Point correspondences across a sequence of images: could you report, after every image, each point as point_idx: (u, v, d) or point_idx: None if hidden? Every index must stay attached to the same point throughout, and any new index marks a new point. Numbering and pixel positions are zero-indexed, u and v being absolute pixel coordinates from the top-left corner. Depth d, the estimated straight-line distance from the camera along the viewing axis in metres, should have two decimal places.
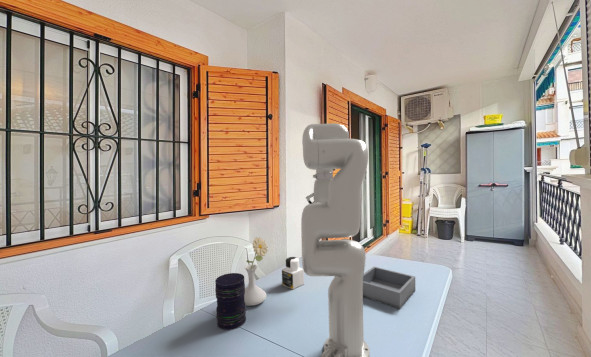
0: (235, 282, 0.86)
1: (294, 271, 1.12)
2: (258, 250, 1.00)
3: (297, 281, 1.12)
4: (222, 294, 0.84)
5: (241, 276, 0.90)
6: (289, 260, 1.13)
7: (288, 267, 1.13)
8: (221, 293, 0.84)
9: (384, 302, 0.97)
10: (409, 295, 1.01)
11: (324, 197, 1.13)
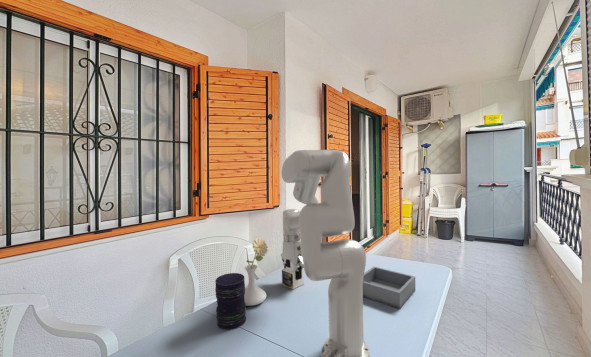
0: (235, 282, 0.86)
1: (294, 271, 1.12)
2: (258, 250, 1.00)
3: (297, 281, 1.12)
4: (222, 294, 0.84)
5: (241, 276, 0.90)
6: (289, 260, 1.13)
7: (288, 267, 1.13)
8: (221, 293, 0.84)
9: (384, 302, 0.97)
10: (409, 295, 1.01)
11: None
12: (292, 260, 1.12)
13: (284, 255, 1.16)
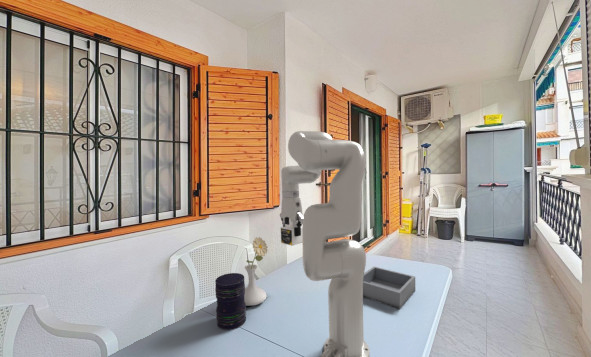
0: (235, 282, 0.86)
1: (293, 228, 1.11)
2: (258, 250, 1.00)
3: (296, 238, 1.11)
4: (222, 294, 0.84)
5: (241, 276, 0.90)
6: None
7: (287, 224, 1.12)
8: (221, 293, 0.84)
9: (384, 302, 0.97)
10: (409, 295, 1.01)
11: None
12: (291, 216, 1.11)
13: (283, 213, 1.15)
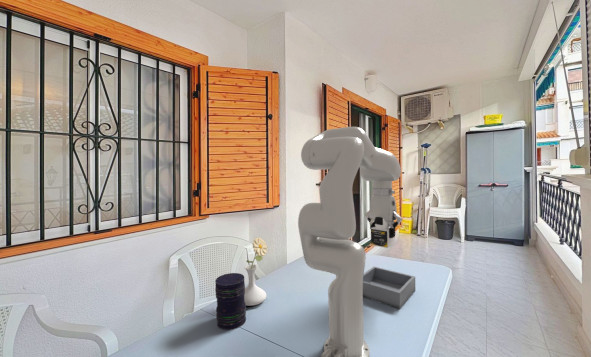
0: (235, 282, 0.86)
1: (387, 228, 1.02)
2: (258, 250, 1.00)
3: (390, 240, 1.02)
4: (222, 294, 0.84)
5: (241, 276, 0.90)
6: (381, 217, 1.03)
7: (380, 224, 1.03)
8: (221, 293, 0.84)
9: (384, 302, 0.97)
10: (409, 295, 1.01)
11: None
12: (386, 216, 1.01)
13: (373, 213, 1.06)
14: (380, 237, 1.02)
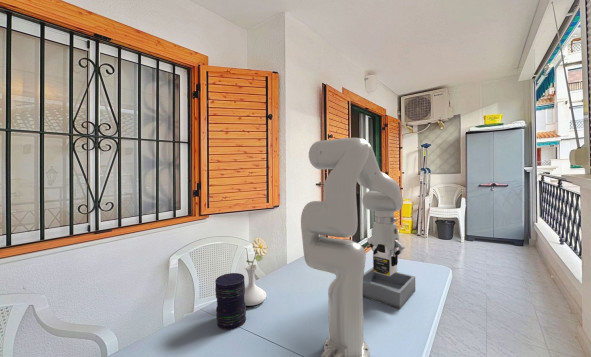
0: (235, 282, 0.86)
1: (389, 256, 1.02)
2: (258, 250, 1.00)
3: (392, 267, 1.03)
4: (222, 294, 0.84)
5: (241, 276, 0.90)
6: None
7: (382, 252, 1.03)
8: (221, 293, 0.84)
9: (384, 302, 0.97)
10: (409, 295, 1.01)
11: None
12: (388, 244, 1.02)
13: (375, 240, 1.06)
14: (382, 265, 1.03)
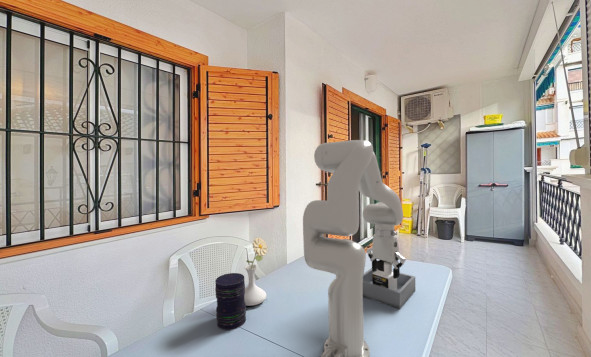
0: (235, 282, 0.86)
1: (388, 275, 1.03)
2: (258, 250, 1.00)
3: (391, 286, 1.03)
4: (222, 294, 0.84)
5: (241, 276, 0.90)
6: (382, 263, 1.04)
7: (381, 271, 1.03)
8: (221, 293, 0.84)
9: (384, 302, 0.97)
10: (409, 295, 1.01)
11: None
12: (388, 257, 1.02)
13: (375, 252, 1.06)
14: (381, 283, 1.03)
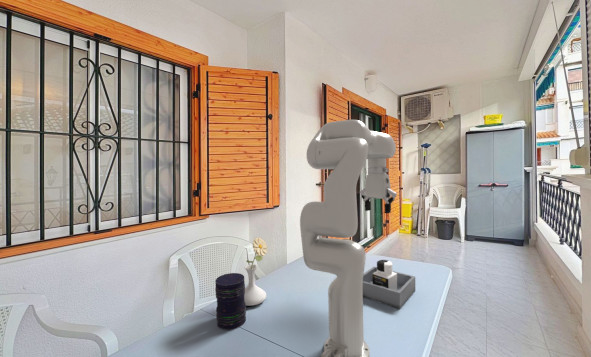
0: (235, 282, 0.86)
1: (389, 275, 1.02)
2: (258, 250, 1.00)
3: (391, 287, 1.03)
4: (222, 294, 0.84)
5: (241, 276, 0.90)
6: (382, 263, 1.04)
7: (381, 271, 1.03)
8: (221, 293, 0.84)
9: (384, 302, 0.97)
10: (409, 295, 1.01)
11: None
12: (380, 193, 1.05)
13: (368, 191, 1.10)
14: (381, 284, 1.03)
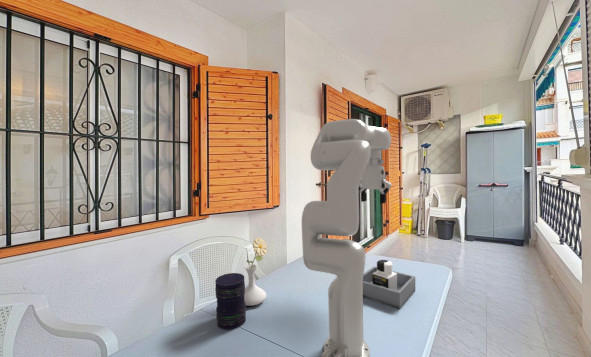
0: (235, 282, 0.86)
1: (389, 275, 1.02)
2: (258, 250, 1.00)
3: (391, 287, 1.03)
4: (222, 294, 0.84)
5: (241, 276, 0.90)
6: (382, 263, 1.04)
7: (381, 271, 1.03)
8: (221, 293, 0.84)
9: (384, 302, 0.97)
10: (409, 295, 1.01)
11: None
12: (375, 184, 1.09)
13: (364, 182, 1.14)
14: (381, 284, 1.03)
